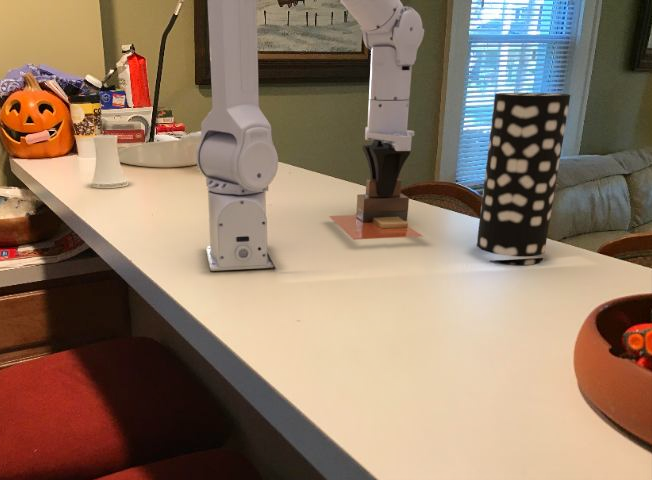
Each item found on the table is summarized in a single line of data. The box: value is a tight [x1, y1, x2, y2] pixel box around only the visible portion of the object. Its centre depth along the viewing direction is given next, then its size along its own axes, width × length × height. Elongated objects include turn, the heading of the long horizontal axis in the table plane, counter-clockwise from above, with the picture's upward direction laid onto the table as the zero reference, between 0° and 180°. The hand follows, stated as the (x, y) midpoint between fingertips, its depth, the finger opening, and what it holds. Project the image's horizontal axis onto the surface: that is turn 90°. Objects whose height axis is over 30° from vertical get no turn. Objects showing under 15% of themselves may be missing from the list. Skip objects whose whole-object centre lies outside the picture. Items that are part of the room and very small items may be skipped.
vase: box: [90, 134, 129, 189], centre depth 126 cm, size 8×8×10 cm
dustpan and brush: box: [117, 130, 201, 169], centre depth 150 cm, size 23×33×10 cm
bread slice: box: [373, 217, 409, 229], centre depth 90 cm, size 4×4×1 cm
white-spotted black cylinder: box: [476, 92, 571, 266], centre depth 76 cm, size 8×8×20 cm
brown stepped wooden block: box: [355, 178, 410, 222], centre depth 92 cm, size 7×4×6 cm, turn 99°
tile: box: [328, 214, 423, 241], centre depth 90 cm, size 14×10×1 cm
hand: (382, 194), depth 92 cm, fingers closed on brown stepped wooden block
